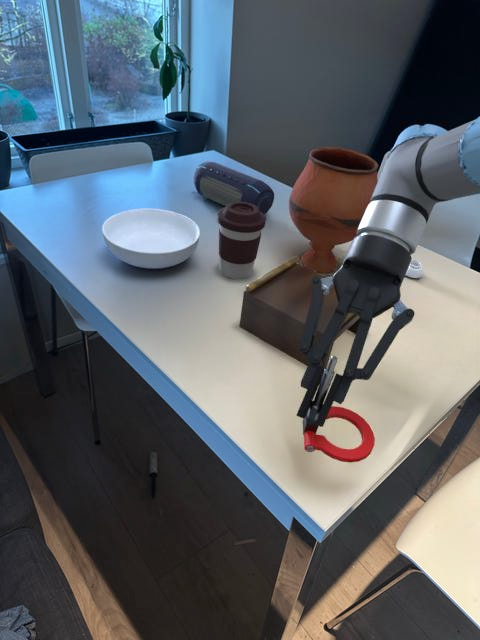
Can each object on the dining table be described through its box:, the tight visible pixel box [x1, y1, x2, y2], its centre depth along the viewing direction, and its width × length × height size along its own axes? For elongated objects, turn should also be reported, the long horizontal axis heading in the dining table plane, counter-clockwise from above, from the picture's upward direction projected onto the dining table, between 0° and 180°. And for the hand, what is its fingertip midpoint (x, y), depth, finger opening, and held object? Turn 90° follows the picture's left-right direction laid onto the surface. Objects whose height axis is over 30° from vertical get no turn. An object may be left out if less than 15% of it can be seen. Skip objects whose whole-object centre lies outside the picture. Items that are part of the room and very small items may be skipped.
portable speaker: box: [193, 161, 275, 215], centre depth 125 cm, size 25×10×10 cm, turn 50°
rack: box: [239, 256, 361, 369], centre depth 82 cm, size 18×16×10 cm
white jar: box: [405, 259, 424, 279], centre depth 106 cm, size 5×3×5 cm
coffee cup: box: [216, 202, 267, 280], centre depth 95 cm, size 10×10×15 cm
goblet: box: [288, 146, 379, 273], centre depth 99 cm, size 19×19×25 cm
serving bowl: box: [101, 208, 201, 269], centre depth 99 cm, size 21×21×7 cm
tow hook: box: [302, 355, 376, 464], centre depth 54 cm, size 8×13×9 cm
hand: (309, 420), depth 54 cm, fingers closed on tow hook, 2 cm apart
